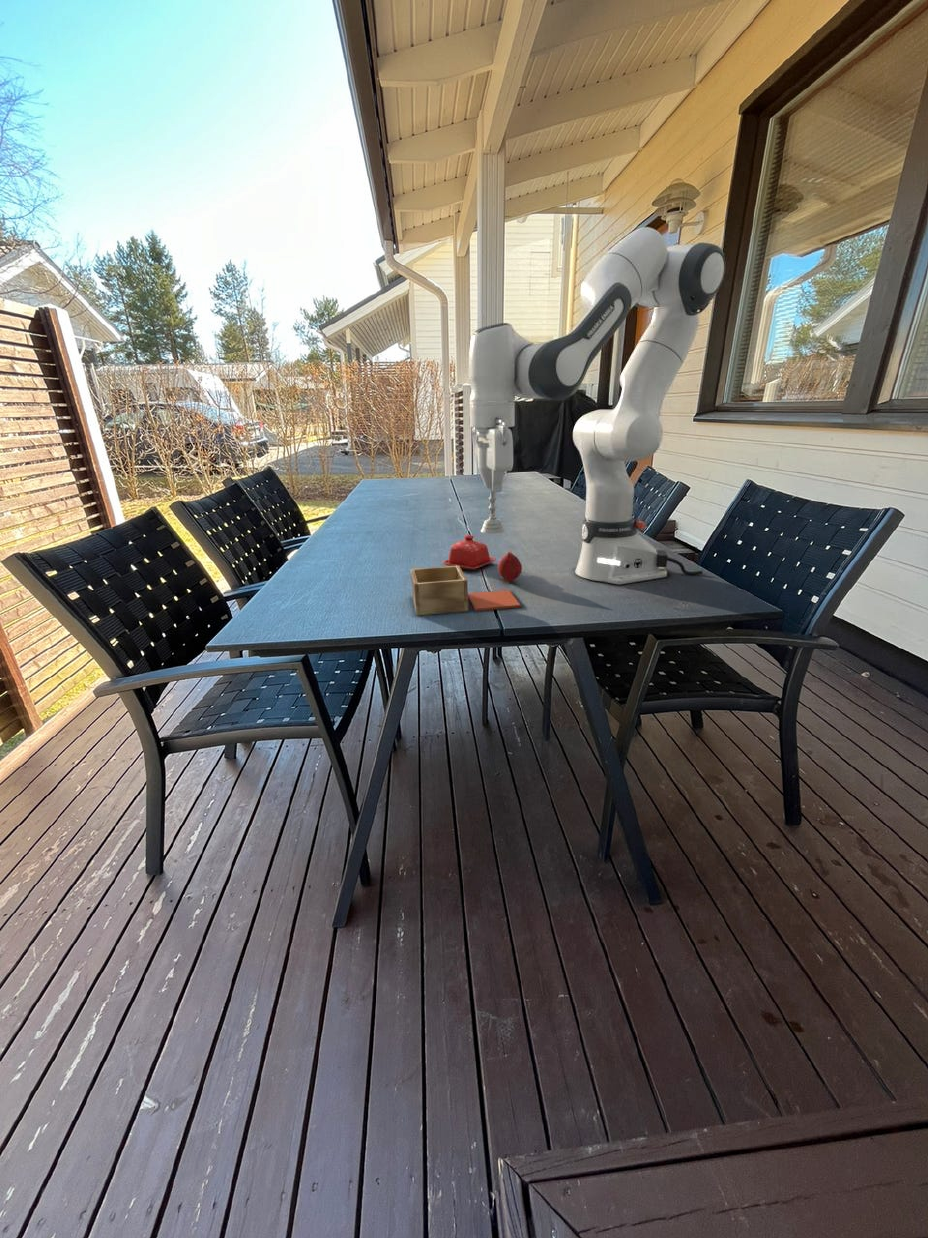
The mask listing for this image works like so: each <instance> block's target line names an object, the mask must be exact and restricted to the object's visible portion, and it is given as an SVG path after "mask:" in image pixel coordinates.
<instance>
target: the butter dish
mask: <svg viewBox="0 0 928 1238" xmlns="http://www.w3.org/2000/svg"><path fill="white" fill-rule="evenodd" d="M474 537H475V536H474V535H473V534H465V535H464V540H460V541H458V542H455V543H454V544H452V545H451V547H450V549H449V555H448V559H446V560H444V561H442V562H441V564H443V565H445V566H458V565H459V567H460V568H461V569H462V570H463V569H465V570H469V571H475V570H477V569H480V568H481V567H485V566H487V565H488V564H491V563H493V562H495V561H497V559H496V558H495V557H491V556H490V553H489V549H488V548H489V547H488V546H487V544H486V543H484V542H481V541H478V540H474Z"/></svg>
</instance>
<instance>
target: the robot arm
mask: <svg viewBox="0 0 928 1238" xmlns="http://www.w3.org/2000/svg"><path fill="white" fill-rule="evenodd" d="M723 251H724V250H723V249H722V248H721V247H720V246H718V245H717V244H715V243H710V242H698V243H683V244H682V243H681V244H673V245H671V246H667V242H666V239H665V237H663V234H661V233H660V232H659V231H658V230H656V229H655V228H652V227H649V226H642V227H639V228H637V229H635V230H633V231H631V232H630V233H629V234H627V235H626V236H625V237H623V238H622V239H620V240H619V241H618V242H617V243H616V244H614V245H613V246H612V247H611V248H609V250H607V252H605V253H604V254H603V255H602V256H601V258H600V259H599V260H598V261H597V262H595V264H594V265H593V266H592V267H591V268H590V270H589V271H588V272H587V274H586V276H585V277H584V279H583V280H582V282H581V285H580V302H581V306H582V308H583V310H584V312H585V314H584V315H583V316H582V317H581V319H579V321H578V322H577V323H576V325H575V326H574V327H573V328H572V329H571V330H570V332H569V333H567V334H565V335H563V336H561V337H558V338H555V339H552V340H548V341H545V342H538V343H534V342H533V341H530V340H528V339H526V338H524V337H523V335H520V333H518V332H517V331H516V330H515V328H513V325H512V324H511V323H509V322H501V323H495V324H490V325H488V326H483V327H480V328H478V329H476V330H475V331H474V332H473V334H472V335H471V337H470V343H469V352H468V353H469V355H468V379H469V380H468V381H469V383H470V389H471V390H470V396H469V416H468V425H469V427H470V428H471V437H472V438H471V440H472V449H473V457H474V460H475V462H476V463H478V447H477V445H476V442H477V441H482V443H488V447H487V448H486V465H487V467H488V468H489V469H491V470H492V483H491V490H492V491H493V492H494V493H495V494H496V493H502V490H503V488H502V487H503V485H502V484H503V480H504V477H505V474H504V471H505V472H511V471H512V470H513V467H514V440H513V433H512V430H511V429H510V428H512V427H515V425H516V423H515V421H516V417H515V416H516V414H515V413H516V397H518V398H520V399H532V400H534V399H547V400H554V401H563V400H566V399H567V398H570V397H572V396H573V395H574V394H575V393H576V392H577V391H579V388H580V387H581V385H582V384H583V381H584V380H585V377H586V376H587V373H588V370H589V368H590V366H591V364H592V363H593V361H594V359H596V357H597V355H598V354H599V353H600V352H601V350H602V349H603V348H604V347H605V346H606V344H607V343H608V342H609V341H610V339H611V338H612V337H613V335H614V334H615V333H616V332H617V331H618V330H619V328H620V327H621V325H622V324H623V323H624V321H625V320H626V319H627V317H628V315H629V313H630V311H631V310H632V309H633V307H636V308H642V309H645V308H653V315H652V319H651V321H650V324H649V325H648V326H647V328H646V329H645V331H644V333H643V334H642V335H641V337H640V338H639V340H638V342H637V344H636V346H635V348H634V349H633V351H632V353H631V355H630V357H629V358H628V361H627V363H626V364H625V366H624V368H623V370H622V371H621V372H620V373H621V374H620V375H619V376H620V377H619V385H620V387H621V393H620V396H619V399H618V402H617V404H616V406H615V407H614V408H613V409H596V410H593V411H590V412H587V413H586V414H583V415H582V416H581V417H580V418H578V420H577V421H576V422H575V425H574V427H573V430H572V441H573V444H574V446H575V447H576V449H577V451H578V452H579V455H580V458H581V462H582V465H583V466H582V467H583V472H584V477H585V486H586V487H585V488H586V489H585V490H586V492H585V493H586V494H585V511H584V512H585V513H584V517H583V518H582V519H583V520H582V527H581V541H582V543H581V549H580V553H579V557H578V562H577V565H576V567H575V570H574V573H575V574H576V575H577V576H579V577H580V578H583V579H586V580H591V581H594V582H595V581H597V582H603V583H608V584H612V585H613V584H614V585H626V584H632V583H638V582H644V581H649V580H655V579H662V578H666V577H667V576H668V571H667V569H666V568H667V566H668V562H671V563H673V564H676V565H678V566H679V568H680V570H681V572H682V573H683V574H685V575H687V576H697V575H703V570H695V571H688V570H687V569H686V568H685V565H684V564H683V563H682V562H681V561H679V560H678V559H675V558H671V557H669V556H668V553H667V551H666V550H664V549H661V550H660V549H656V548H655V547H654V546H653V545H652V544H651V543H649V541H647V540H646V539H645V538H644V537H642V536H641V535H640V534H639V533H638V530H640V531H644V530H645V529H646V527H647V523H646V522H644V521H642V520H636V519H635V518H632V517H633V508H634V507H633V506H634V496H635V486H634V483H633V481H632V479H631V478H630V476H629V474H628V472H627V468H626V464H625V463H632V462H638V461H644V460H647V459H649V458H651V457H652V456H653V455H655V454H656V453H657V451H658V450H659V448H660V446H661V443H662V440H663V433H664V432H663V431H664V430H663V425H662V422H661V421H660V416H661V415H660V414H661V410H662V406H663V403H664V400H665V397H666V396H667V393H668V391H669V389H670V388H671V385H672V384H673V382H674V380H675V378H676V377H677V375H678V373H679V371H680V369H681V368H682V366H683V364H684V362H685V360H686V358H687V356H688V354H689V352H690V350H691V347H692V345H693V344H694V340H695V338H696V335H697V333H698V329H699V326H700V318H699V314H701V313H702V312H704V311H705V310H706V309H707V307H708V306H709V304H710V302H712V300H713V299H714V298H715V296H716V295H717V293H718V291H719V290H720V288H721V286H722V284H723V282H724V279H725V275H726V268H727V266H726V265H727V264H726V257H725V254H724V252H723ZM503 476H504V477H503ZM483 486H484V487H485V488H487V487H486V486H485V484H484V483H483Z"/></svg>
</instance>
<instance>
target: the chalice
mask: <svg viewBox="0 0 928 1238" xmlns="http://www.w3.org/2000/svg"><path fill="white" fill-rule="evenodd" d="M476 445H477V447H478V462H477V468H478V471H479V474H480V475H479V476H480V477H481V479H482V482H483V485H484V484H485V486H486V487H485V486H484V487H485V488H487V489H488V490H489V498H488V500H489V503H490V504H489V506H488V510H489V512H490V515H489V517H488V518H487V519H485V520H484V521H483V525H482V527H481V530H480V533H483V534H490V535H491V534H492V535H493V534H502V533H504V532H505V529H504V526H503V524H502V521H501V520H500V519H498V518H497V516H496V510H497V506H496V500H497V497H496V493H494V492H493V491H492V490H491V483H492V470H491V469H489V468H488V467H487V465H486V448H487V447H488V443H482V441H477V442H476ZM505 474H506V471H504V476H503V478H504V477H505Z"/></svg>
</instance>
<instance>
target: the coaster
mask: <svg viewBox="0 0 928 1238" xmlns="http://www.w3.org/2000/svg"><path fill="white" fill-rule="evenodd" d="M468 601H469V602H470V604H471V606H472V608H473V610H474V611H475V612H481V611H482V612H483V611H493V610H503V609H515V608H521V604H520V602H519V601H518V599H517V598H516V597H515V596H514V594H513V593H512V592H511V590H509V589H505V590H492V591H482V592H481V591H480V592H470V593H469V592H468Z"/></svg>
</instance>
